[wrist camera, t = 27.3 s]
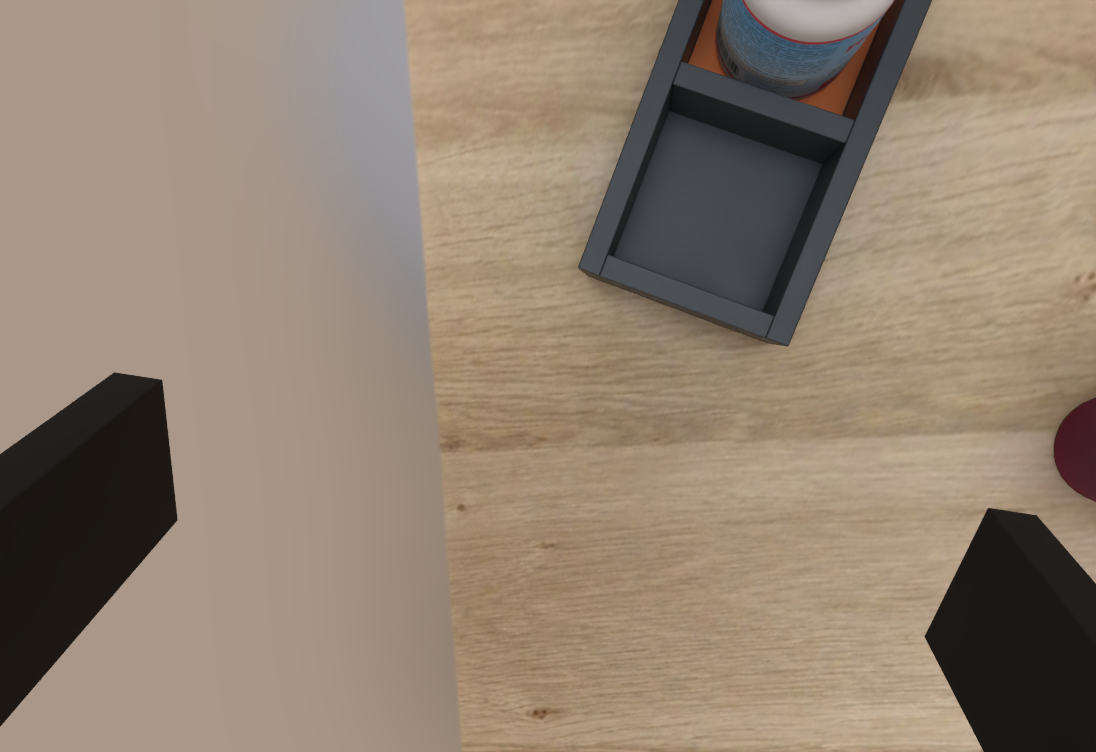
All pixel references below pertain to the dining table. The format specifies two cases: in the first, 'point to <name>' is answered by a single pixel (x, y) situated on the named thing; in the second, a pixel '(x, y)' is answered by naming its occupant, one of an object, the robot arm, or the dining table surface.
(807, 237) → the holder
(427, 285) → the dining table surface
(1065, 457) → the cup
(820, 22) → the pill bottle
